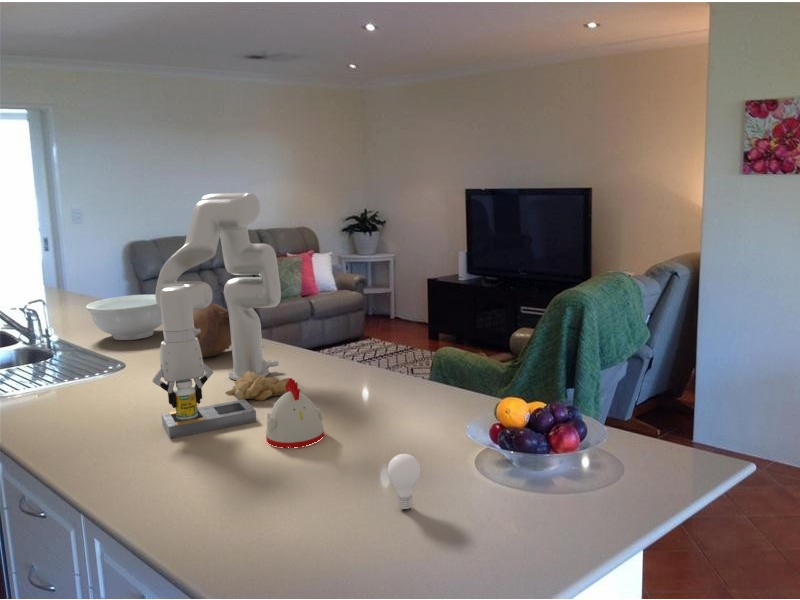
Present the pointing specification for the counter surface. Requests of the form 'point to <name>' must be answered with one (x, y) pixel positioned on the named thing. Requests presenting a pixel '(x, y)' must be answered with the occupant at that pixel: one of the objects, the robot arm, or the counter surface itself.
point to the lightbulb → (404, 477)
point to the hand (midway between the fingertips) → (185, 403)
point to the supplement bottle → (185, 400)
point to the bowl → (127, 316)
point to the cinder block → (210, 418)
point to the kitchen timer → (294, 420)
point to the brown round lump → (213, 329)
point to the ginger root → (257, 387)
